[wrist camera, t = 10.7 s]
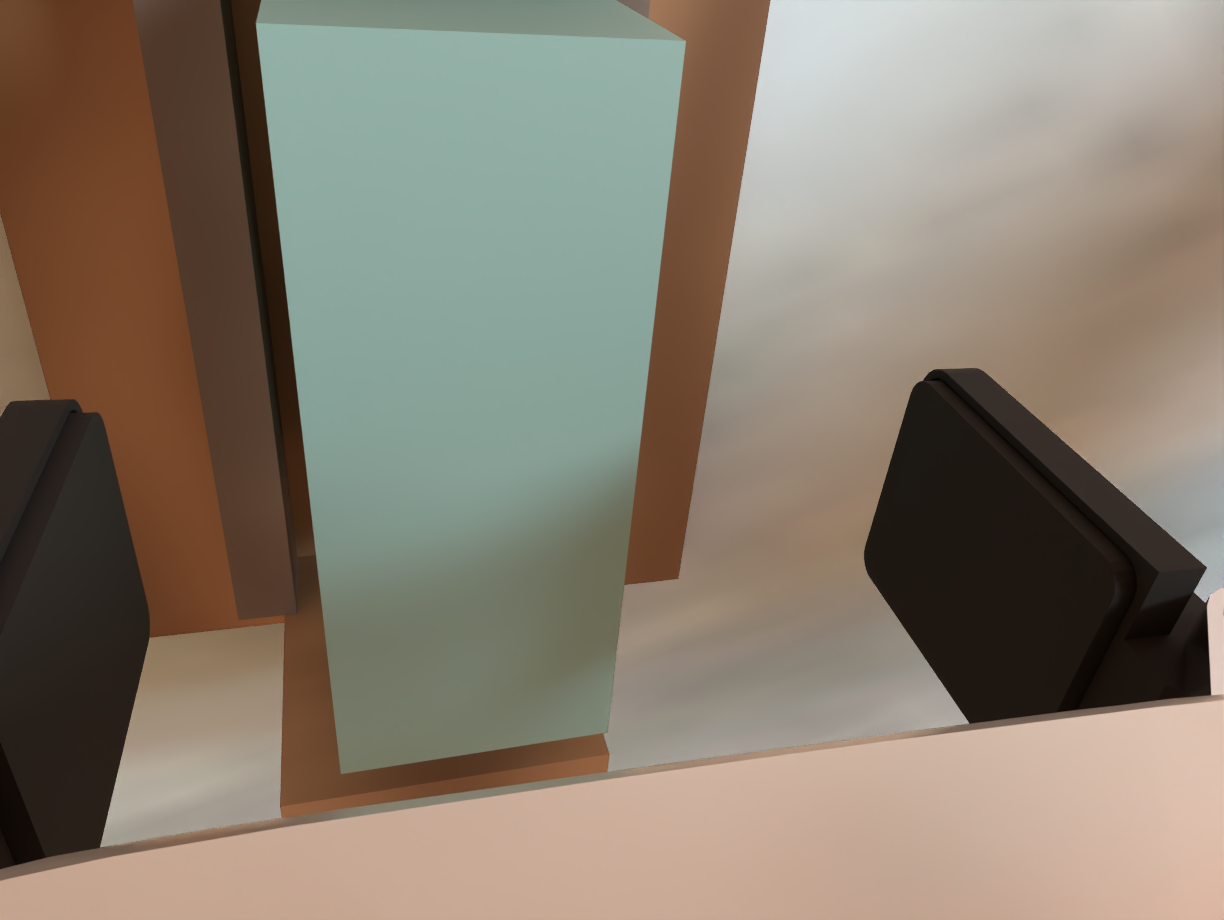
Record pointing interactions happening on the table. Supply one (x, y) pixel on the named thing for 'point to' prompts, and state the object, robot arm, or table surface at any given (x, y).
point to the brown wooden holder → (288, 327)
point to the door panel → (469, 348)
